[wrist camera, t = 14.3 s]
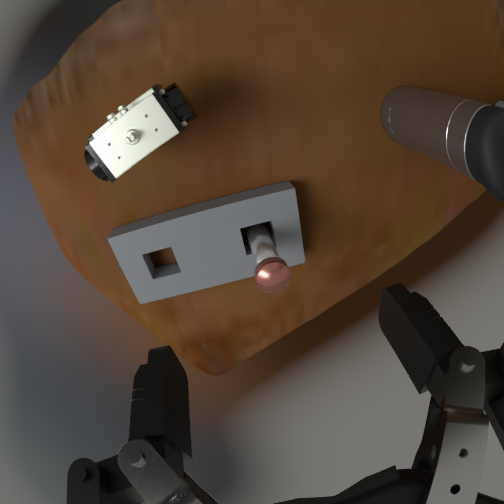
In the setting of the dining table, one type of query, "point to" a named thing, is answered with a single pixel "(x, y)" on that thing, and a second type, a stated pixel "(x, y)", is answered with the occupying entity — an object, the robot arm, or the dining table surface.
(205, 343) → the dining table surface
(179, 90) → the pneumatic valve
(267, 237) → the lock pin
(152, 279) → the mount board
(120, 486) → the robot arm
